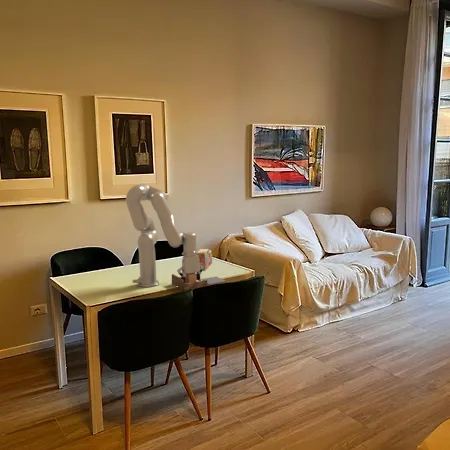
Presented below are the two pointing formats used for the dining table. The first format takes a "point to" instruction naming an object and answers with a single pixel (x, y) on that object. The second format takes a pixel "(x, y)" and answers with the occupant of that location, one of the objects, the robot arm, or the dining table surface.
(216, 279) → the slate mat
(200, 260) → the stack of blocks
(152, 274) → the robot arm
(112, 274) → the dining table surface
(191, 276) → the terracotta block
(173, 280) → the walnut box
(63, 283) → the dining table surface
